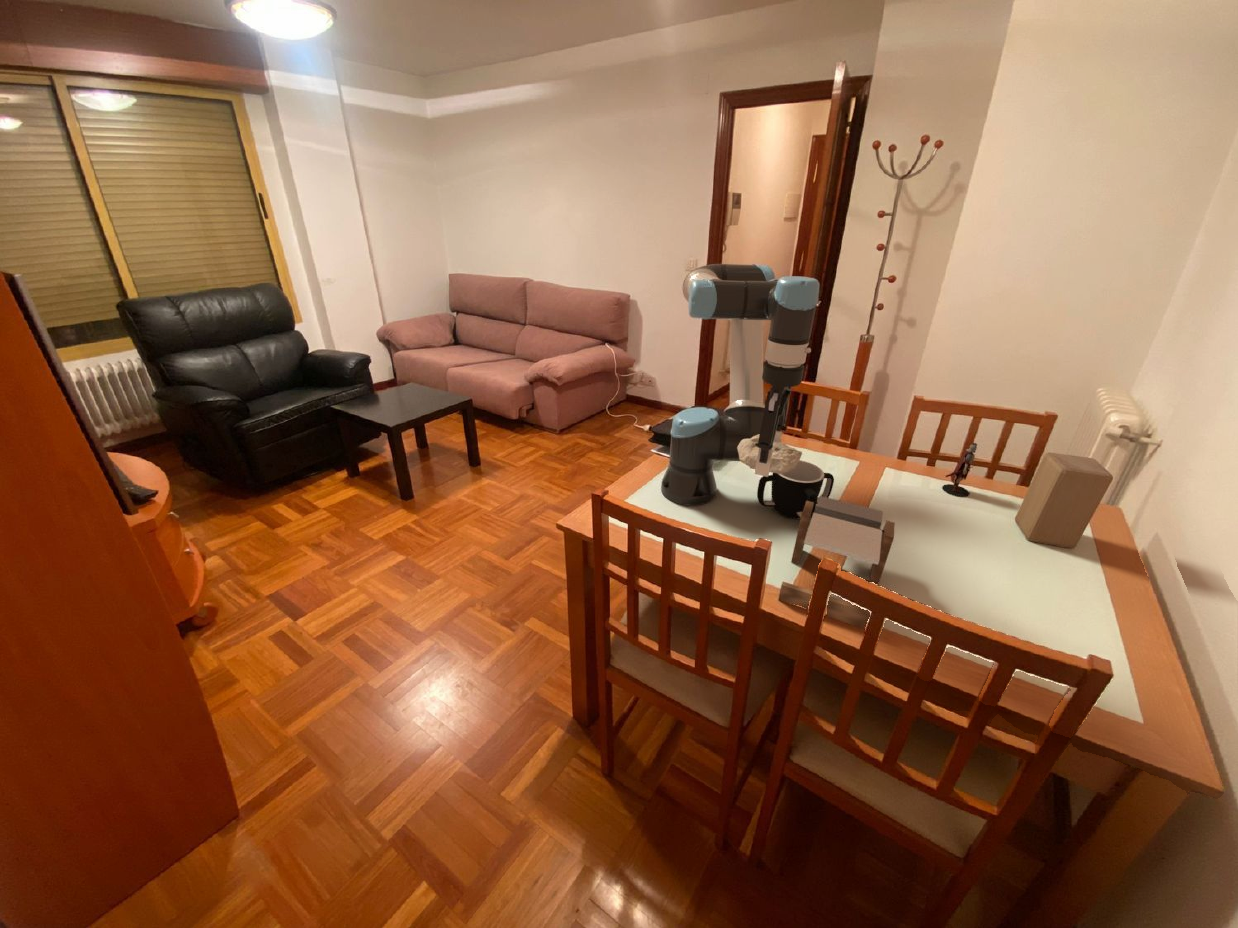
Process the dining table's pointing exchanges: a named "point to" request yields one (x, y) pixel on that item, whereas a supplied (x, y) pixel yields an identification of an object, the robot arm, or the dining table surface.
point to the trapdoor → (846, 529)
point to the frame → (835, 606)
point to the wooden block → (1062, 499)
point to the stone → (781, 455)
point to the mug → (795, 489)
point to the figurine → (961, 473)
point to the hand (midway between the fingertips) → (766, 465)
